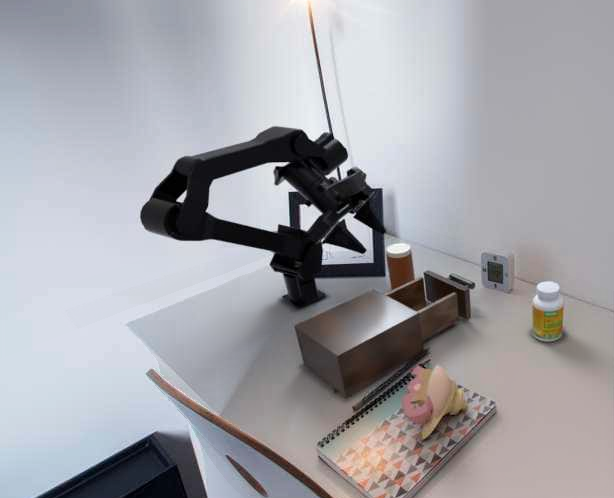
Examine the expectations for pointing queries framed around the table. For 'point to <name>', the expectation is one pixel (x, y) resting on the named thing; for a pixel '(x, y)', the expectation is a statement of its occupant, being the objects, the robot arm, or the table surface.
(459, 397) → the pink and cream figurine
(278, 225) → the robot arm
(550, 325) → the supplement bottle
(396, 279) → the pill bottle
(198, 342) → the table surface
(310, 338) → the cabinet
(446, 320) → the drawer
